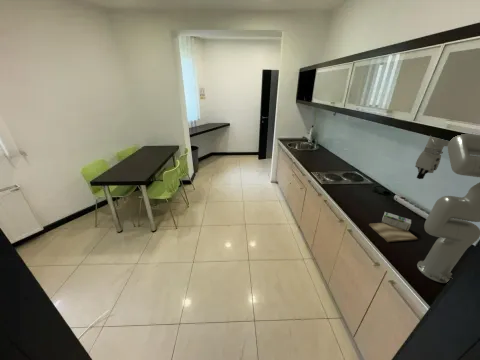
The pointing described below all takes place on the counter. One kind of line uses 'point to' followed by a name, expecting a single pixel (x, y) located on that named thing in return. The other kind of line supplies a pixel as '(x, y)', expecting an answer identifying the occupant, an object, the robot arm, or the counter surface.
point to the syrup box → (396, 221)
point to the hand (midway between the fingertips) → (419, 178)
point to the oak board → (392, 232)
